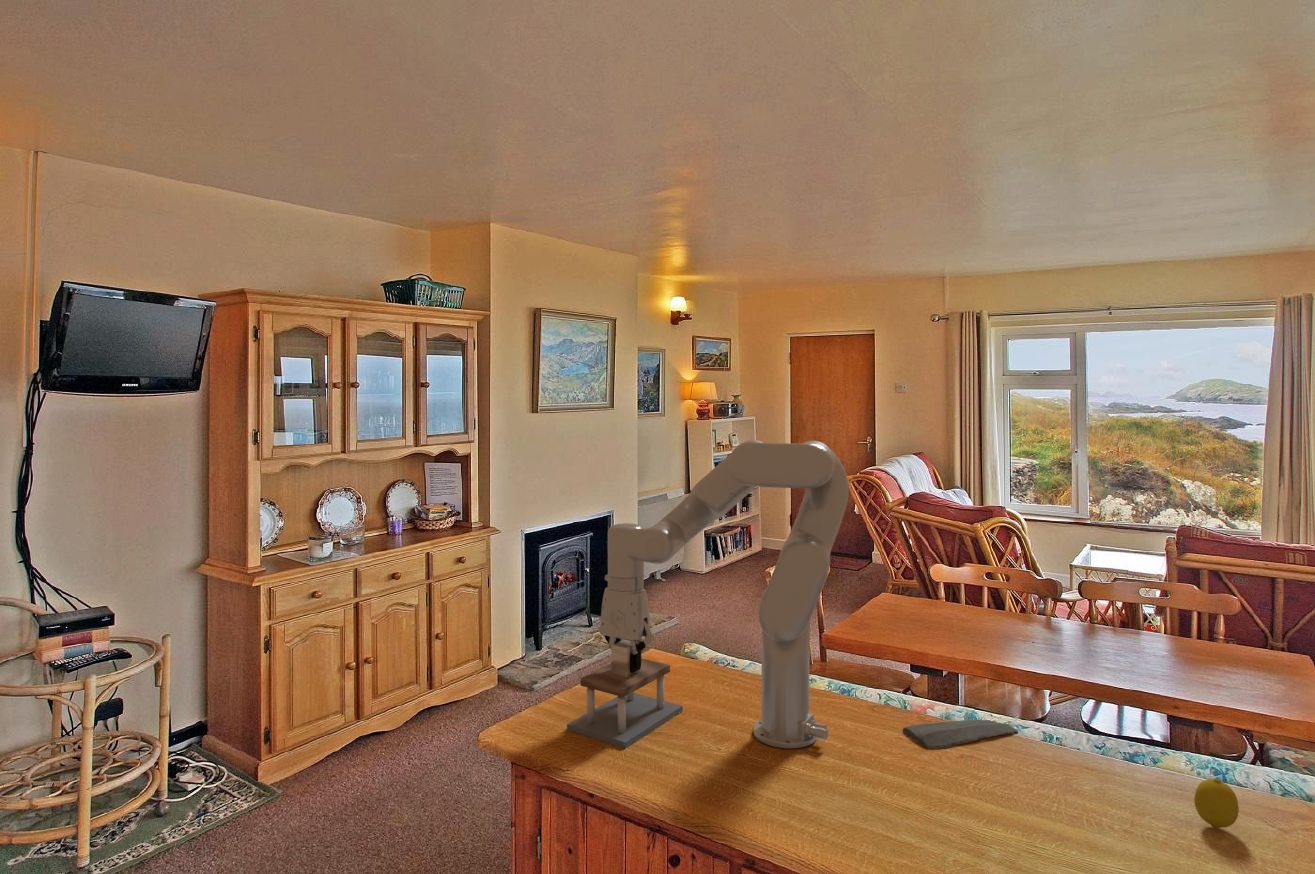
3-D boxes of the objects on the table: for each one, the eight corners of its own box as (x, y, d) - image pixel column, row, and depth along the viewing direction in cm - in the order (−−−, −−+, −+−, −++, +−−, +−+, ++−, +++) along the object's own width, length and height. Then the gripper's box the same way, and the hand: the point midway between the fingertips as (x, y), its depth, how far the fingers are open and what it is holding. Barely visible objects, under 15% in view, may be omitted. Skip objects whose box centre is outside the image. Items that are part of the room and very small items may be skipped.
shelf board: (623, 697, 146) (623, 659, 146) (580, 685, 152) (580, 649, 152) (670, 671, 160) (670, 637, 160) (629, 661, 166) (629, 629, 166)
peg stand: (682, 711, 161) (682, 674, 161) (625, 748, 144) (625, 707, 143) (627, 696, 170) (627, 660, 169) (566, 729, 152) (566, 690, 152)
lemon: (1185, 819, 119) (1186, 770, 118) (1217, 817, 119) (1218, 769, 119) (1213, 839, 113) (1215, 788, 113) (1247, 837, 114) (1249, 787, 113)
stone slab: (899, 737, 152) (931, 752, 142) (898, 724, 152) (930, 738, 142) (987, 724, 158) (1023, 738, 149) (986, 711, 159) (1022, 723, 149)
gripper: (583, 581, 157) (584, 666, 158) (648, 592, 148) (648, 682, 148) (605, 574, 163) (606, 656, 164) (668, 584, 154) (669, 671, 155)
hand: (626, 667), depth 156 cm, fingers closed on shelf board, 3 cm apart
